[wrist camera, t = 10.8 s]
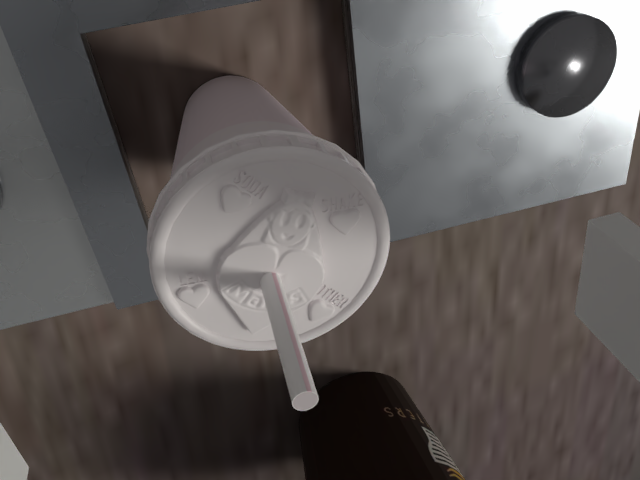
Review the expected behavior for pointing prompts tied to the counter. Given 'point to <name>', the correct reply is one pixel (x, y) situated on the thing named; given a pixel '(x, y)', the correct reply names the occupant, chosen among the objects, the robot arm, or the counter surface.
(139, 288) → the link plate
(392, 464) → the coffee mug
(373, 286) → the smoothie
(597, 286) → the robot arm
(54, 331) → the counter surface
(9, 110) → the link plate
